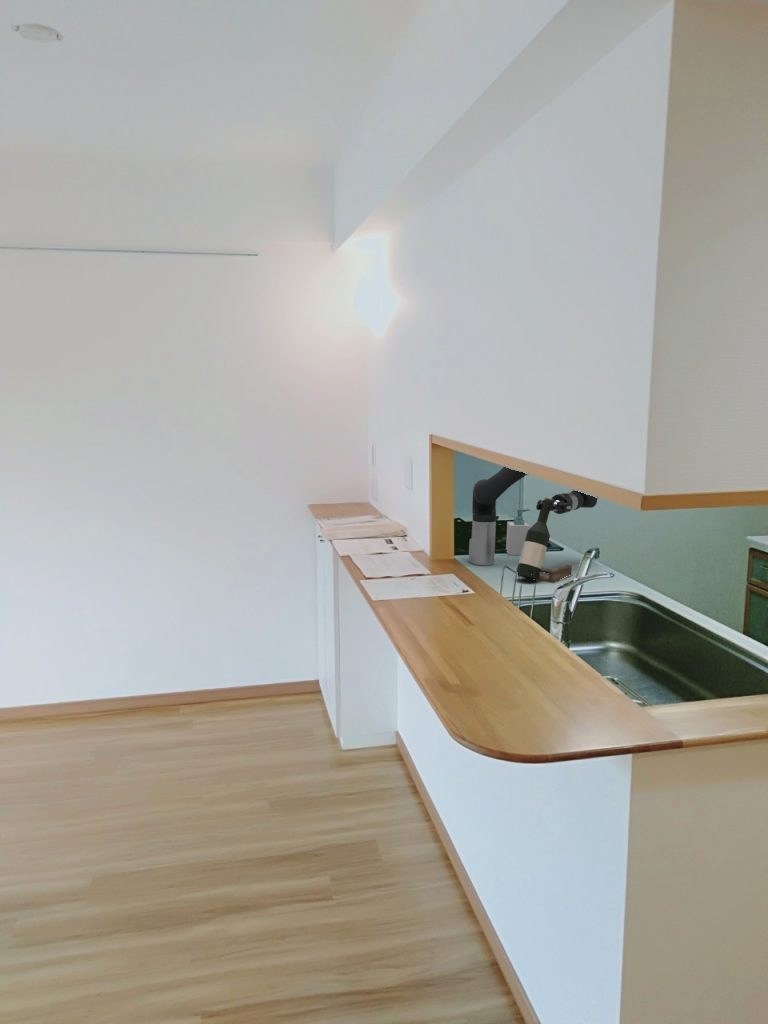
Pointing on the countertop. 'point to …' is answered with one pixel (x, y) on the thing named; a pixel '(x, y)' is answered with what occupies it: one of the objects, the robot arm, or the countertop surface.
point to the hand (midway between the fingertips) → (542, 507)
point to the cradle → (556, 573)
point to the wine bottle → (535, 546)
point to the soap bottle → (516, 534)
